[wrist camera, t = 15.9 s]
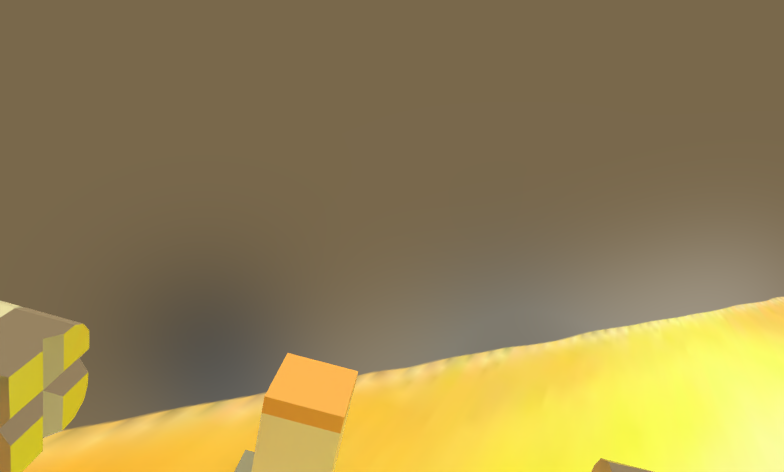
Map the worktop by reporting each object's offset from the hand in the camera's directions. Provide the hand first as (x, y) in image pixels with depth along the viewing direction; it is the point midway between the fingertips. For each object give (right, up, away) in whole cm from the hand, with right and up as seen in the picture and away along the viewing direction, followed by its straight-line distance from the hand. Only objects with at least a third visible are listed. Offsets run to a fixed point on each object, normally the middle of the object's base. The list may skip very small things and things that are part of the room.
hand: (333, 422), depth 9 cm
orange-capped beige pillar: (-6, -16, +26) cm, 31 cm away
